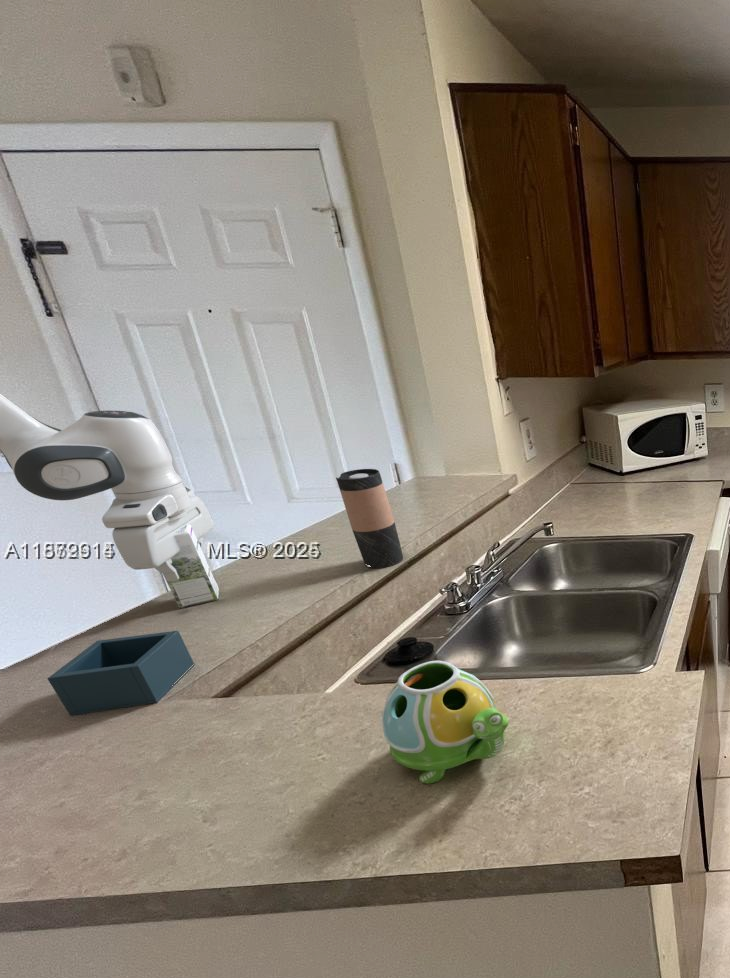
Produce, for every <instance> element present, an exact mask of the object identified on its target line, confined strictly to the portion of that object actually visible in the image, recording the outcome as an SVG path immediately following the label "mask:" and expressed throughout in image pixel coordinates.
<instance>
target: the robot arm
mask: <svg viewBox="0 0 730 978" xmlns="http://www.w3.org/2000/svg"><path fill="white" fill-rule="evenodd" d="M0 452H1V453H2V455H3V457H4V459H5V461H6V463H7V464H8V466H9V468H10V469H11V470H12V472H13V474H14V476H15V479H16V481H17V482H18V483H19V486H21V487H22V488H23V489H25V490H26V491H28V492H29V493H31V494H32V495H34V496H37V497H40V498H43V499H47V500H52V501H73V500H78V499H82V498H85V497H89V496H93V495H96V494H98V493H102V492H105V491H107V490H111V491H112V493H113V495H114V497H115V498H114V499H113V500H112V503H111V504H110V507H108V509H107V510H106V512H105V513H104V514H103V516H102V517H101V520H102V524H103V525H104V527H105V528H106V529H113V530H112V539H113V541H114V544H115V546H116V548H117V550H118V553H119V554H120V557H121V558H122V560H123V561H124V563H125V564H126V565H127V566H128V567H129V568H130V569H133V570H134V571H135V570H136V571H139V570H148V569H155V570H156V571H158V572H159V573H161V574H162V575H163V577H164V579H165V582H166V581H169V582H170V581H177V580H178V579H179V578H181V577H182V574H181V572H180V570H179V569H175V568H174V567H173V566H172V565H171V563H172V561H171V557H173V556H174V555H176V554H177V553H178V552H180V547H179V545H178V543H177V541H176V539H175V537H174V536H175V533H177V532H178V531H179V530H180V529H181V528H183V527H184V526H186V525H188V524H189V525H191V527H192V529H193V531H194V534H195V536H196V538H197V540H198V542H199V545H200V547H201V549H202V552H203V554H204V557H205V559H206V558H207V556H206V554H205V552H204V538H203V536H204V535H206V534H208V533H209V532H210V531H212V530H213V529H214V520H213V518H212V516H211V514H210V511H209V509H208V507H207V506H206V504H205V503H204V501H203V500H202V498H200V497H199V496H197V495H195V493H194V490H193V489H190V488H188V487H186V486H185V484H184V481H183V480H182V477H181V476H180V475H179V474H178V472H177V471H175V469H174V465H173V456H172V454H171V451H170V450H169V448H168V445H167V443H166V441H165V439H164V437H163V435H162V434H161V432H160V430H159V429H158V428H157V426H156V425H155V423H154V422H153V421H152V420H151V419H150V418H148V417H146V416H145V415H143V414H140V413H137V412H134V411H127V410H126V411H125V410H93V411H88V412H86V413H84V414H83V415H82V416H81V417H80V418H79V419H78V420H76V421H75V422H73V423H72V424H70V425H69V426H67V427H65V428H64V429H60V428H57V427H54V426H52V425H48V424H46V423H43V421H42V422H41V421H40V420H38V419H37V418H35V417H34V416H33V415H31V414H30V413H28V412H26V411H25V410H24V409H22V408H21V407H20V406H18V405H17V404H16V403H14V402H13V401H12V400H10V399H9V398H8V397H7V396H5V395H3V394H2V393H0ZM206 560H207V559H206Z"/></svg>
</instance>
